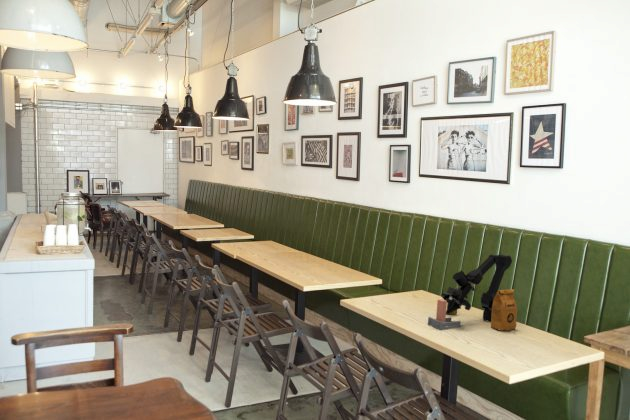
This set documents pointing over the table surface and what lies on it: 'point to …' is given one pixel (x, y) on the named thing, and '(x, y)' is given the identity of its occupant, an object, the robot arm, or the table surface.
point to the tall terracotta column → (441, 310)
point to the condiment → (453, 313)
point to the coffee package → (504, 311)
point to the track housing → (443, 326)
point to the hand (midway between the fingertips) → (446, 312)
